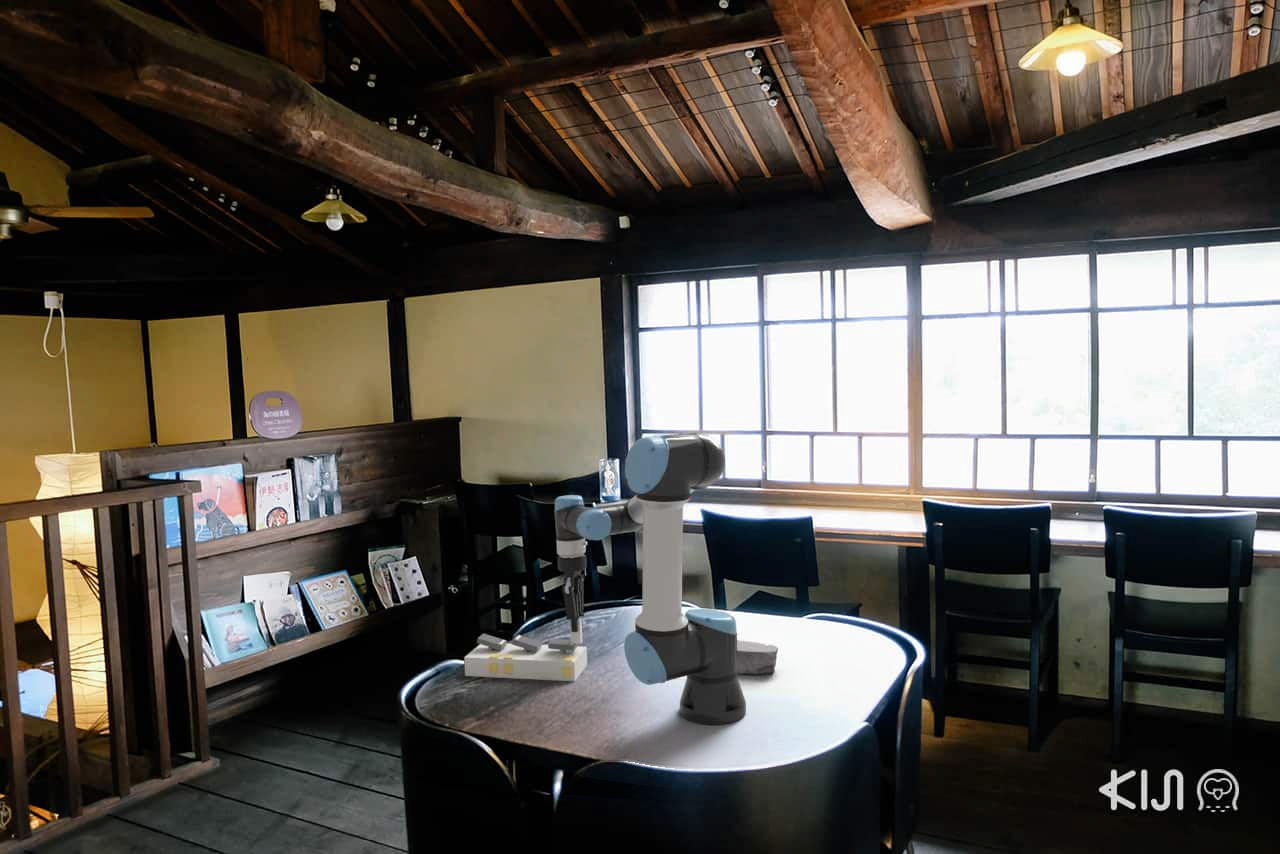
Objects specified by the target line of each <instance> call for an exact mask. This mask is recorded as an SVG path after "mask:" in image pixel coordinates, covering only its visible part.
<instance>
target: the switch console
mask: <svg viewBox="0 0 1280 854" xmlns="http://www.w3.org/2000/svg"><path fill="white" fill-rule="evenodd" d="M587 649H588V648H587V646H579V645H578V647H577V648H576V649H575V650H574V651H567V650H558V649H548V644H542V646H541V648H540V649H539V650H538V651H537V652H535V651H531V650H528V649H525V648H522V647H519V646H515V645H512V643H507V644H506V646H505V647H504V648H503V649H502V650H501V651H500V650H497V649H494V648H491V647H488V646H484V645H481V644H478V645H477V646H476V647H475V648H473V650H471V651H470V652H469V653H468V654H467V655H465V656H464V658H463V659H464V676H465V677H479V678H480V677H481V678H499V679H500V678H502V679H519V680H520V679H522V680H542V681H558V682H559V681H562V682H563V681H565V682H566V681H567V682H576V681H577V679H578V678H579V677H580V675H581V674H582V672H584V670H585V669H586V667H587V666H588V651H587Z"/></svg>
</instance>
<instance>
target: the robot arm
mask: <svg viewBox="0 0 1280 854" xmlns="http://www.w3.org/2000/svg"><path fill="white" fill-rule="evenodd" d="M632 444H633V445H632V446H630V448H629V450H628V452H627V455H626V458H625V465H624V472H625V473H624V474H625V479H626V480H627V485H628V487H629V488H630V489H631V490H632V492H634V493H635V495H634V496H633V497H632V498H631V499H629V500H627V501H626V502H624V503H623V502H622V503H616V504H609V505H601V506H594V507H590V506H589V507H588V506H585V503H584V499H583V497H582V495H579V494H578V495H577V494H569V495H562V496H557V498H555V500H554V511H553V512H554V520H555V521H554V522H555V533H556V534H555V535H556V554H557V555H558V556H557V569H558V570H559V571H560V572H562V573H564V578H563V584H564V585H562V587H561V591H562V594H563V600H564V606H565V607H564V608H565V616H566V618H565V620H567V621H569V629H570V631H569V633H570V640H571V643H574V644H578V645H581V644H582V643H583V626H582V617H585V613H584V582H585V574H582V571H584V570H586V569H587V568H588V567H587V565H588V564H587V555H586V554H585V553H586V550H587V547H586V546H588V541H586V540H589V541H600V540H603V539H604V538H606V537H607V536H611V535H612V536H613V535H617V534H618V535H619V534H623V533H625V534H626V533H632V532H642V597H641V598H642V609H641V611H642V612H641V613H639V615H637V616H636V618H635V620H634V621H635V622H634V624H635V629H634V630H635V631H632V632H631V631H630V633H628V634H627V635H626V637H625V640H624V643H623V645H624V646H623V648H624V655H625V660H626V663H627V665H628V667H629V668H630V671H631V672H632V674H633V675H634V677H635V678H636V680H638V681H639V682H640V683H642V684H644V685H647V686H649V685H650V686H651V685H656V684H665V683H666V682H669V681H672V680H673V681H674V680H677V679H680V678H684V677H686V679H685V682H684V687H683V690H682V693H681V697H680V700H679V701H680V702H679V713H680V715H681V716H682V717H683V718H684V719H686V720H688V721H689V722H693V723H697V724H702V725H714V726H715V725H725V724H731V723H734V722H737V721H739V720H741V719H742V718H744V717H745V716H746V714H747V713H746V712H747V703H746V702H747V701H746V699H745V696H744V693H743V689H742V687H741V683H740V682H739V681H740V680H739V677H738V676H739V675H737V640H738V631H737V621H736V618H735V617H734V616H733V615H731V614H730V613H727V612H725V611H722V610H717V609H710V608H693V609H688V610H687V611H686V612H685V613H684V614H683V612H682V607H683V606H682V604H683V603H682V602H683V600H682V599H683V596H682V595H683V591H682V590H683V536H684V535H683V534H684V533H683V531H684V529H683V528H684V526H683V523H684V520H683V519H684V505H685V504H686V503H688V502H689V501H690V499H691V494H692V493H693V492H695V491H703V490H705V489H707V488H708V487H710V486H711V485H713V484H714V483H715V482H717V481H718V480H719V478H721V476H722V474H723V472H724V470H725V466H726V457H725V453H724V451H723V448H722V447H721V444H719V442H718V441H717V440H715V439H714V438H713V437H711V436H709V435H708V434H704V433H701V432H699V433H698V432H690V433H679V434H678V433H676V434H660V435H659V434H658V435H657V434H655V435H652V436H645V437H642V438H639V439H638V440H636V441H635V442H634V443H632Z"/></svg>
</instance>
